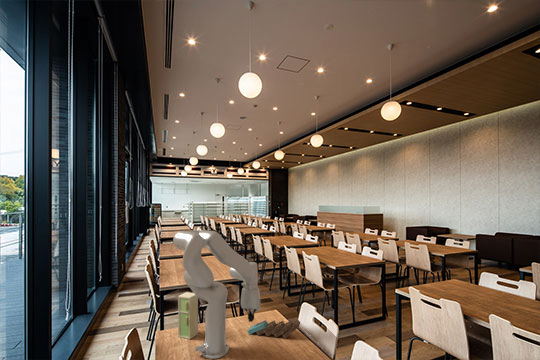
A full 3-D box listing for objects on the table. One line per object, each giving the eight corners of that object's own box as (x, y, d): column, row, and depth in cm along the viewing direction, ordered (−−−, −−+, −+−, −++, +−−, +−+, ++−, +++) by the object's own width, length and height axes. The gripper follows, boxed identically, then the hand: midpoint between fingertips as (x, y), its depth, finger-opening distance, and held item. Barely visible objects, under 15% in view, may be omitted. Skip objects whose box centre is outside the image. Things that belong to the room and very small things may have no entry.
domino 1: (247, 331, 142) (263, 324, 140) (250, 326, 146) (266, 320, 144) (248, 334, 141) (265, 327, 139) (252, 330, 146) (267, 323, 144)
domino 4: (273, 334, 138) (288, 324, 136) (275, 329, 143) (290, 320, 141) (275, 338, 137) (291, 328, 136) (278, 333, 142) (292, 323, 141)
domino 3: (264, 333, 139) (280, 324, 137) (267, 328, 144) (282, 320, 142) (266, 336, 139) (282, 328, 137) (269, 332, 143) (284, 324, 142)
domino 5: (282, 335, 137) (296, 323, 135) (284, 331, 141) (297, 319, 140) (284, 339, 136) (298, 326, 135) (286, 334, 141) (300, 322, 140)
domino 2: (256, 332, 140) (272, 324, 138) (259, 327, 145) (274, 320, 143) (257, 335, 140) (273, 328, 138) (260, 331, 145) (276, 323, 143)
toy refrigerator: (176, 337, 139) (177, 296, 141) (186, 331, 146) (186, 291, 148) (189, 340, 136) (189, 298, 138) (198, 333, 143) (198, 293, 144)
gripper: (235, 286, 144) (235, 322, 142) (261, 288, 140) (262, 325, 138) (240, 282, 151) (240, 316, 150) (265, 284, 147) (266, 319, 146)
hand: (251, 320), depth 144 cm, fingers closed
